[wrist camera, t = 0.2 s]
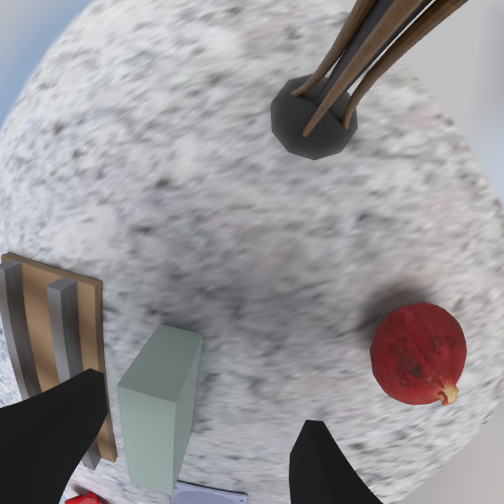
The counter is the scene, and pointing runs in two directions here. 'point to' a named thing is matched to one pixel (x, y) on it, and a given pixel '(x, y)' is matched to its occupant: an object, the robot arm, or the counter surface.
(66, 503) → the red toy stool
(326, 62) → the wooden tabletop sculpture
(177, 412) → the door panel
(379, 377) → the onion
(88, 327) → the track board
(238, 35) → the counter surface
